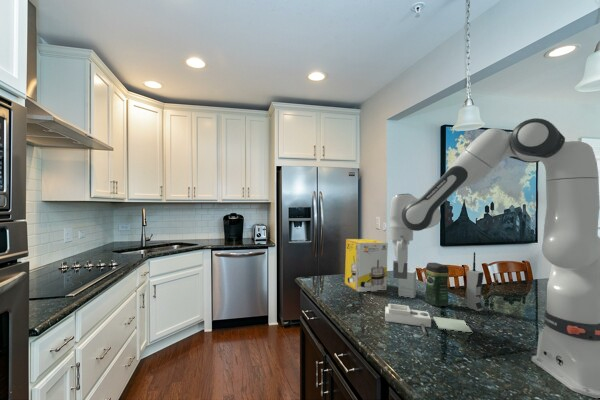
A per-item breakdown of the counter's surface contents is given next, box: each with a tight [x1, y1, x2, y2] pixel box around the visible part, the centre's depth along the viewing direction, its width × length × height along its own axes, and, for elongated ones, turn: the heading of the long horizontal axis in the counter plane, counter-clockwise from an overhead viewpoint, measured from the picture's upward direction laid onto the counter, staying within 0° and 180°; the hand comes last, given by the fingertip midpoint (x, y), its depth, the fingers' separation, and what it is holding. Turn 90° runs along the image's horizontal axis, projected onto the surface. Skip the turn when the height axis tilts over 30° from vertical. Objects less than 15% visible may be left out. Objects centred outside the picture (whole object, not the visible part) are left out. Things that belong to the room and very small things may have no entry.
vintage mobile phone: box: [466, 251, 484, 312], centre depth 127 cm, size 4×5×25 cm
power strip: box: [384, 303, 432, 337], centre depth 108 cm, size 16×16×4 cm
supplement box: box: [397, 268, 417, 299], centre depth 144 cm, size 7×7×13 cm
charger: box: [392, 260, 408, 280], centre depth 113 cm, size 4×5×7 cm
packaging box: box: [344, 238, 389, 293], centre depth 157 cm, size 16×16×25 cm
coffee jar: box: [424, 262, 450, 307], centre depth 133 cm, size 10×8×19 cm
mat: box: [432, 316, 474, 334], centre depth 109 cm, size 11×11×1 cm
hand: (400, 270), depth 113 cm, fingers closed on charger, 4 cm apart
